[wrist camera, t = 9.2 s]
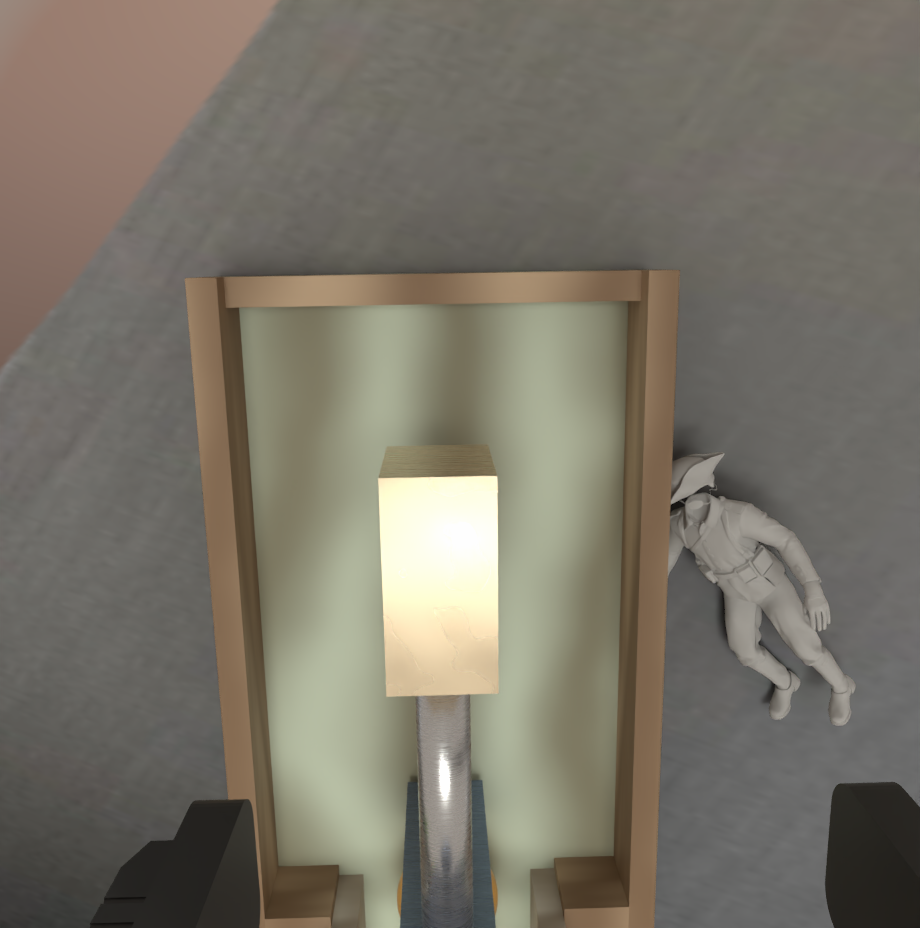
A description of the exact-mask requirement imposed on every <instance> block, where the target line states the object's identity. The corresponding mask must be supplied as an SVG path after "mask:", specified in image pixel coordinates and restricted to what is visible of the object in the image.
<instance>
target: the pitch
mask: <svg viewBox="0 0 920 928" xmlns="http://www.w3.org/2000/svg"><path fill="white" fill-rule="evenodd" d="M679 276H680V270H592V271H530V272H468V273H407V274H345V275H283V276H221V277H198V278H185V286H186V298H187V310H188V321H189V333H190V345H191V357H192V369H193V381H194V393H195V405H196V417H197V429H198V441H199V453H200V465H201V477H202V489H203V501H204V513H205V525H206V537H207V549H208V561H209V573H210V585H211V597H212V609H213V621H214V633H215V645H216V656H217V668H218V680H219V692H220V704H221V716H222V728H223V740H224V752H225V764H226V776H227V788H228V800H233V799H249V800H250V802H251V805H252V809H253V816H254V828H255V840H256V852H257V864H258V876H259V888H260V925H259V928H400V916H399V912H398V907H397V890H398V884H399V880H400V877H401V875H402V872H403V861H404V842H405V824H406V805H407V786H408V782H418V767H417V733H416V699H415V696H395V697H386V672H385V645H384V618H383V591H382V565H381V538H380V511H379V485H378V478H379V474H380V470H381V466H382V463H383V459H384V455H385V451H386V448H387V446H430V445H478V444H488V446H489V450H490V453H491V456H492V460H493V463H494V466H495V470H496V473H497V510H498V668H499V694H470V720H471V780H482V782H483V793H484V804H485V814H486V825H487V836H488V847H489V858H490V868H491V870H492V872H493V874H494V877H495V880H496V884H497V889H498V906H497V911H496V915H495V924H496V928H654V914H655V888H656V863H657V837H658V812H659V786H660V761H661V735H662V710H663V684H664V659H665V633H666V608H667V582H668V557H669V531H670V506H671V480H672V455H673V429H674V404H675V378H676V353H677V327H678V302H679Z"/></svg>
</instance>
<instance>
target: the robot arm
mask: <svg viewBox="0 0 920 928" xmlns="http://www.w3.org/2000/svg"><path fill="white" fill-rule="evenodd" d="M825 889H826V899H827V905H828V909H829V913H830V917H831V920H832V923H833V925H834V928H920V807H919V806H918V805H917V804H916V802H915V801H914V800H913V799H912V798H911V797H910V796H909V794H908V793H907V792H906V791H905V790H904V789H903V788H902V787H901V786H900V785H899V784H897V783H895V782H879V783H845V784H838V785H837V786H836V787H835V789H834V791H833V795H832V801H831V814H830V827H829V840H828V853H827V866H826V878H825ZM259 925H260V888H259V876H258V864H257V852H256V840H255V828H254V816H253V809H252V805H251V802H250V800H249V799H233V800H198V801H194V802H193V803H192V804H191V805H190V807H189V809H188V811H187V813H186V815H185V817H184V819H183V822H182V824H181V826H180V828H179V830H178V832H177V834H176V836H175V838H174V840H168V841H150V842H149V843H148V844H147V845H146V846H145V847H143V848H142V849H141V850H140V851H139V852H138V853H137V854H136V855H134V856H133V857H132V858H131V859H130V860H129V861H128V862H127V863H125V864H124V865H123V866H122V867H121V868H120V870H119V872H118V874H117V876H116V877H115V879H114V881H113V883H112V885H111V887H110V888H109V890H108V892H107V894H106V896H105V898H104V904H101V905H100V907H99V909H98V910H97V912H96V914H95V916H94V918H93V920H92V921H91V923H90V928H259Z"/></svg>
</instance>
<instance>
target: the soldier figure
mask: <svg viewBox="0 0 920 928" xmlns="http://www.w3.org/2000/svg"><path fill="white" fill-rule="evenodd" d="M723 456H724V453H722V452H715V453H710V454H691V455H687V456H684V457H682V458H679V459H676V460H673V461H672V480H671V504H673V503H675V502H677V501H679V500H680V499H683V498H685V497H688V496H689V497H688V499H687V500H686V502H685V503H684V502H683V503H684V504H685V506H684V507H682V508H681V507H680V508H678V509H676V510H673V511H672V512H671V513H670V531H669V557H668V576H669V574H670V571H671V570H672V568H673V567H674V566H675V564H676V562H677V560H678V557H679V555H680V553H681V551H682V548H683V547H684V546H685V547H686V548H687V549H690V550H691V551H692V552H694V554H695V560H696V563H697V565H698V566H699V569H700V571H701V572H702V573H703V574H704V576H705V577H706V578H707V579H708V580H709V581H711V582H712V583H713V584H714V583H715V582H716V584H717V585H718V586H720V588H721V590H722V591H723V592H724V602H725V624H726V630H727V637H728V644H729V648H730V649H731V650H733V651H734V652H735V653H736V657H737V658H738V659H739V661H740V662H741V664H742V665H744V666H749V667H751V668H752V669H754V670H756V671H758V672H759V673H761V674H762V675H764V676H765V677H767V678H768V679H770V680H771V681H772V682H773V683H774V684H776V685H775V691H774V693H773V696H772V699H771V702H770V706H769V714H770V717H771V718H773V719H776V720H780V719H782V718H784V717H785V716H786V715H787V714H788V712H789V711H790V708H791V705H790V699H791V695H792V693H793V691H797V689H798V688H799V686H800V679H799V678H798V677H797V676H796V674H794V673H792V672H791V671H789V670H788V671H787V669H786V668H785V666H784V665H782V664H781V663H780V662H778V661H777V660H776V659H775V658H774V656H773V655H772V654H770V653H769V652H768V651H767V650H766V648H764V647H763V646H760V645H759V644H758V642H759V641H760V639H761V633H760V631H759V627H760V625H761V622H762V610H763V611H764V613H765V614H766V615H767V617H768V618H769V619H770V621H771V622H772V624H773V625H774V627H775V628H776V630H777V631H778V633H779V634H780V636H781V638H782V639H783V641H784V642H786V644H787V645H788V646H789V647H790V648H791V650H792V651H793V653H794V654H795V655H796V656H797V657H799V658H800V659H802V661H803V662H804V663H805V664H806V665H808V666H813V667H814V668H815V669H816V670H817V671H818V672H819V673H820V674H821V675H822V676H823V677H824V679H826V681H828V682H829V683H830V684H831V686H832V688H831V698H830V702H829V709H828V712H829V717H830V721H831V723H832V724H833V725H837V726H842V725H844V724H846V723H847V722H848V720H849V718H850V716H851V709H850V701H849V700H850V694H852V693H854V690H855V687H856V685H855V682H854V681H853V680H852V678H850V677H849V676H848V675H846V674H844V673H843V672H842V671H841V670H840V668H839V666H838V665H837V663H836V662H835V660H834V658H833V656H832V655H831V653H830V652H829V651H828V650H827V649H826V648H825V647H824V646H823V645H821V640H820V638H819V637H818V635H817V632H816V631H815V629H816V621H815V614H816V618H817V628H818V631H821V630H822V625H821V615H822V620H823V629H824V630H825V629H826V625H827V623H828V624H830V610H829V605H828V602H827V600H826V598H825V596H824V594H823V591H822V588H821V586H820V583H821V579H820V577H819V576H818V574H817V572H816V570H815V569H814V567H813V565H812V562H811V560H810V558H809V556H808V554H807V553H806V551H805V549H804V547H803V546H802V544H801V542H800V541H799V539H798V538H797V537H796V535H795V533H794V532H793V531H791V530H789V529H787V528H786V527H784V526H782V525H780V524H779V522H778V521H777V520H775V519H773V518H770V517H768V516H767V514H766V513H765V512H762V511H761V510H760V509H759V508H757V507H754V505H753V504H751V503H747V502H744V501H735V500H731V499H730V500H729V499H725V497H724V496H719V497H718V498H715V497H714V496H712V495H710V494H711V492H710V494H708V493H705V492H702V493H696V494H693V493H695V492H696V491H697V490H699V489H700V488H702V487H703V486H705V485H709V486H710V487H714V485H716V484H715V483H714V484H713V482H714V480H715V479H714V475H713V471H714V469H715V467H716V465H717V464H718V462H719V461H720V460H721V458H722V457H723ZM710 490H714V489H710ZM710 490H709V491H710ZM716 490H717V485H716ZM681 502H682V501H681ZM758 541H759V542H761V543H764V544H766V545H770V546H773V547H775V548H776V549H777V550H778V551H779V553H780V555H781V557H782V558H783V560H784V561H785V563H786V564H787V565H788V566H789V568H790V570H791V572H792V573H793V574H794V575H795V577H796V578H797V579H798V581H799V582H800V584H801V585H802V586H803V588H804V591H805V597H804V603H803V605H802V603H801V601H800V599H799V597H798V595H797V593H796V590H795V587H794V586H793V584H792V583H791V582H790V580H789V579H788V577H787V576H786V575H785V573H784V572H785V568H784V566H783V564H782V563H781V562H780V561H779V560H778V559H777V558H776V557H775V556H774V555H773V554H772V553H771V552H770V551H769V550H768V549H766V548H765V547H764V546H763V545H761V544H759V543H758ZM807 610H808V612H809V615H810V619H809V617H808V615H807ZM810 621H811V622H810Z"/></svg>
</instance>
